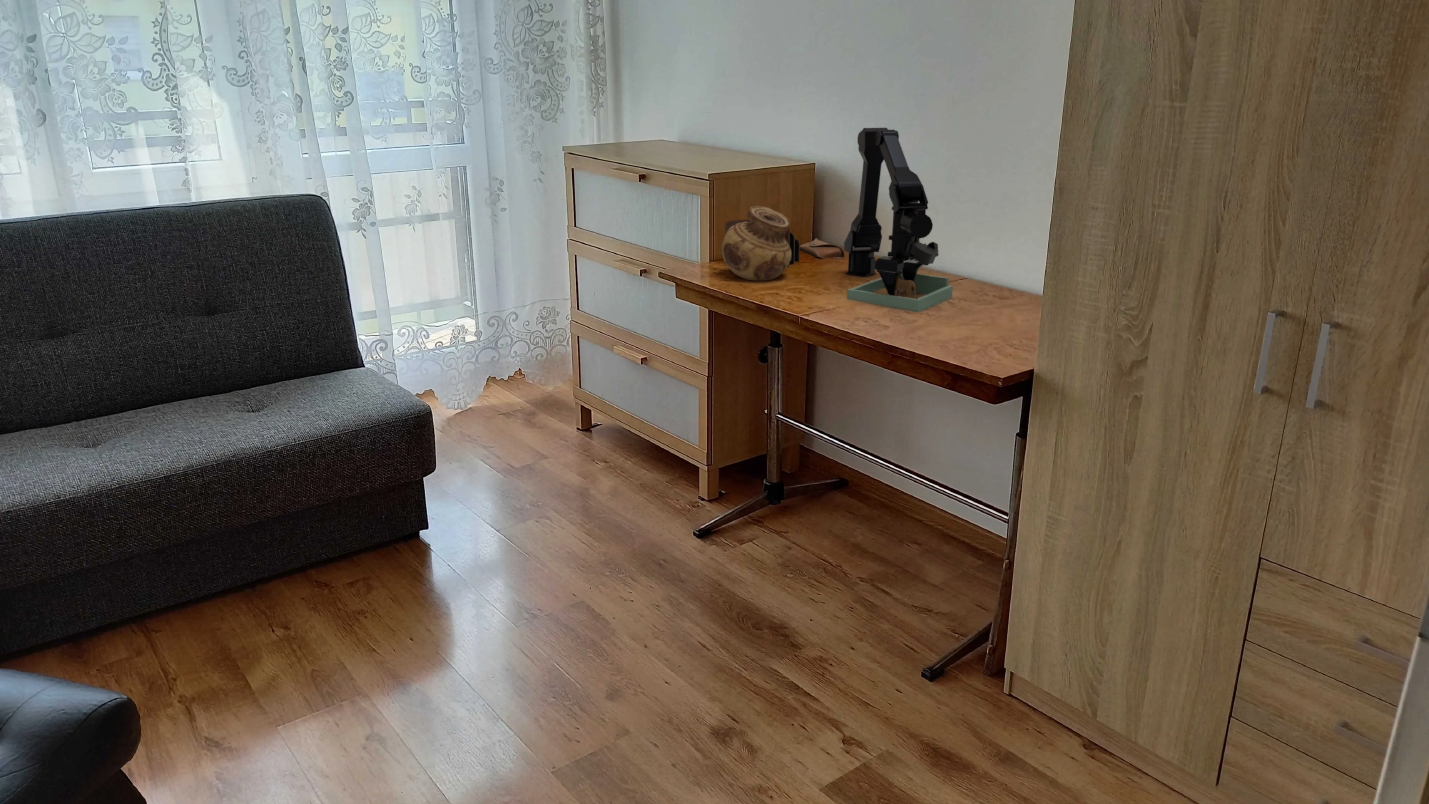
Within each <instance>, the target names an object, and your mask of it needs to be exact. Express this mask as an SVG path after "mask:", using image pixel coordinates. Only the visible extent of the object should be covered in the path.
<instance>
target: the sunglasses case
mask: <svg viewBox="0 0 1429 804" xmlns="http://www.w3.org/2000/svg"><path fill="white" fill-rule="evenodd" d="M800 251H801V252H803V253H806V254H807V255H810V256H813V257H816V258H820V259H823V260H825V259H824V258H829V259H834V258H833V257H844V258H845V252H844V250H843V249H842V248H841V247H840V246H839V245H836V244H830V243H829V242H826V241H823V240H820V239H818V238H817V237H815V239H814V240H811V241H809V242H806V243H803V244H800Z"/></svg>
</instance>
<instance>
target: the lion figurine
mask: <svg viewBox="0 0 1429 804" xmlns="http://www.w3.org/2000/svg"><path fill="white" fill-rule="evenodd" d="M901 292H906V295H907V296H908V298H914V299H918V298H919V297H918V296H917V294H918V293H916V288H915V283H914V282H913V281H912V280H904V279H902V277H901V275H899V276H898V279H897V285H896V290H895V295H894V296H901Z"/></svg>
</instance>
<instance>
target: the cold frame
mask: <svg viewBox="0 0 1429 804" xmlns="http://www.w3.org/2000/svg"><path fill="white" fill-rule="evenodd" d="M900 275H901V277H902V279H904V278H903V273H902V274H900ZM949 282H950V277H947V276H940V275H939V276H938V275H933V274H931V275H930V274H926V273H925V274H924V273H918V272H917V274H916V277H915V279H914V283H915V288H916V294H922V296H920V297H917V298H918V299H916V298H910V297H909V296H908V297H906V296H901V295H899V296H894V295H889V294H887V293H879V292H876V291H879V290H881V289H884V288H886V287H885V285H884V282H883V280H882V278H881V277H878V278H876V279H872V280H869V281H868V282H864V283H862V284H859V285H856V286H854V287H851V288H848V289H847V290H846V291H847V293H846V299H847V300H852V301H857V302H863V303H867V304H869V303H870V304H873V303H874V305H878V306H885V307H889V308H895V309H901V310H907V311H911V312H917V313H919V312H921V311H924V310H926V309H928V308H931V307H933V306H935V305H938V304H941V303H943V302H944V301H948V300H949V299H952V298H953V291H954V289H953V286H954V285H950V284H949Z"/></svg>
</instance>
